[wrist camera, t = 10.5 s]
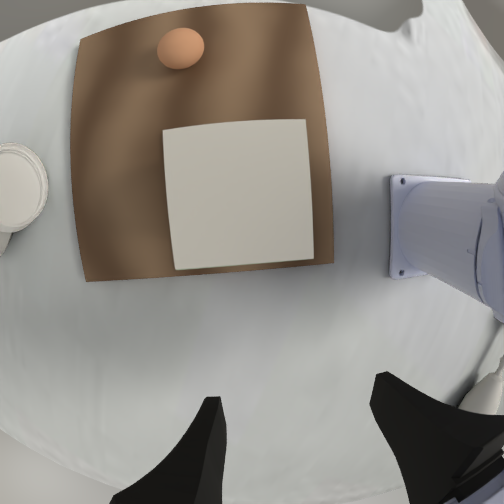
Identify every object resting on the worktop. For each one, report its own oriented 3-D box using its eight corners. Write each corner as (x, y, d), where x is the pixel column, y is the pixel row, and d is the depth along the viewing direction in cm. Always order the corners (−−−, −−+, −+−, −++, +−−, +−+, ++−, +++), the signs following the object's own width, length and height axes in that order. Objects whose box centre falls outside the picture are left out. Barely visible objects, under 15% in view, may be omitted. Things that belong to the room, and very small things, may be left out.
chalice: (552, 322, 15) (485, 445, 18) (528, 309, 21) (474, 419, 24) (520, 311, 17) (449, 443, 20) (495, 298, 24) (440, 415, 26)
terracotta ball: (205, 38, 14) (200, 16, 11) (207, 72, 15) (201, 52, 12) (163, 45, 14) (152, 25, 11) (163, 79, 15) (150, 61, 12)
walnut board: (302, 11, 15) (305, 4, 14) (329, 259, 19) (333, 262, 18) (85, 43, 14) (80, 39, 13) (92, 277, 19) (86, 281, 18)
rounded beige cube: (281, 144, 16) (305, 119, 10) (287, 233, 17) (313, 258, 11) (190, 151, 16) (162, 130, 10) (198, 240, 17) (175, 269, 11)
